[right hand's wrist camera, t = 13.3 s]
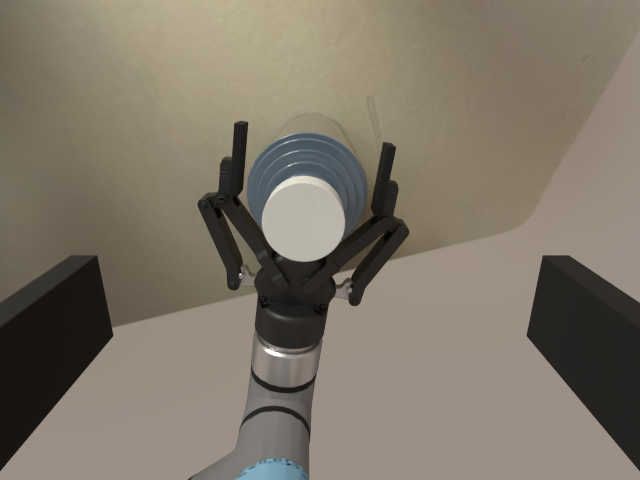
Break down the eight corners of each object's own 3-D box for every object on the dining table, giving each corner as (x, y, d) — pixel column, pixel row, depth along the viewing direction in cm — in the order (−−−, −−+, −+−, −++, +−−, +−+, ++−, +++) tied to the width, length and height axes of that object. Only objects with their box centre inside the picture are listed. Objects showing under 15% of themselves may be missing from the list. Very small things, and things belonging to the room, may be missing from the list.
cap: (302, 263, 23) (301, 277, 22) (249, 211, 22) (244, 220, 21) (359, 216, 22) (362, 226, 21) (306, 158, 21) (305, 164, 20)
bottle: (310, 199, 46) (300, 314, 23) (261, 147, 44) (197, 216, 21) (363, 152, 45) (409, 226, 21) (314, 96, 43) (307, 109, 19)
